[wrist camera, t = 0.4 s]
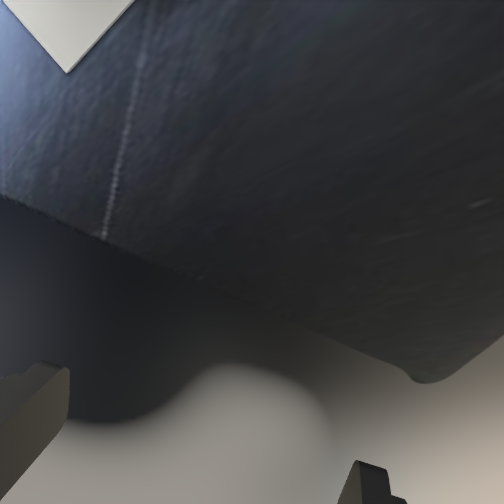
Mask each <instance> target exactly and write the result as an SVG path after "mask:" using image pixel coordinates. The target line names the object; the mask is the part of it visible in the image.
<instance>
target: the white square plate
mask: <svg viewBox="0 0 504 504" xmlns="http://www.w3.org/2000/svg"><path fill="white" fill-rule="evenodd" d="M2 1H3V2H4V3H5V4H6V5H7V6H8V7H9V9H10V10H11V11H12V12H13V13H14V14H15V15H16V17H17V18H18V19H19V20H20V21H21V22H22V23H23V25H24V26H25V27H26V28H27V29H28V30H29V31H30V33H31V34H32V35H33V36H34V37H35V38H36V39H37V41H38V42H39V43H40V44H41V45H42V46H43V47H44V49H45V50H46V51H47V52H48V53H49V54H50V55H51V57H52V58H53V59H54V60H55V61H56V62H57V63H58V65H59V66H60V67H61V68H62V69H63V70H64V71H65V73H68V72H70V71H71V70H72V69H73V68H74V67H75V66H76V65H77V63H78V62H79V61H80V60H81V59H82V58H83V57H84V56H85V55H86V54H87V52H88V51H89V50H90V49H91V48H92V47H93V46H94V45H95V44H96V43H97V41H98V40H99V39H100V38H101V37H102V36H103V35H104V34H105V33H106V32H107V30H108V29H109V28H110V27H111V26H112V25H113V24H114V23H115V22H116V21H117V19H118V18H119V17H120V16H121V15H122V14H123V13H124V12H125V11H126V9H127V8H128V7H129V6H130V5H131V4H132V3H133V2H134V1H135V0H2Z"/></svg>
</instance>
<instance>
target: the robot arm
mask: <svg viewBox="0 0 504 504" xmlns="http://www.w3.org/2000/svg"><path fill="white" fill-rule="evenodd" d="M69 383H70V371H69V369H68V368H66V367H63V366H60V365H57V364H53V363H50V362H47V361H44V360H41V361H38V362H37V363H35V364H34V365H33V366H32V367H30V368H29V369H28V370H27V371H26V372H25V373H23V374H22V375H20V374H17V373H14V374H12V375H9V376H8V377H5V378H3V379H0V500H1V499H2V498H3V497H4V496H5V494H6V493H7V492H8V491H9V490H10V489H11V487H12V486H13V485H14V484H15V483H16V482H17V480H18V479H19V478H20V477H21V476H22V475H23V473H24V472H25V471H26V470H27V469H28V467H29V466H30V465H31V464H32V463H33V462H34V461H35V459H36V458H37V457H38V456H39V455H40V454H41V452H42V451H43V450H44V449H45V448H46V447H47V445H48V444H49V443H50V442H51V441H52V439H53V438H54V437H55V436H56V435H57V434H58V432H59V431H60V430H61V428H62V426H63V424H64V422H65V420H66V417H67V414H68V408H69V407H68V406H69ZM337 504H407V502H406V501H405V499H402V498H399V497H395V496H393V495H391V491H390V484H389V477H388V473H387V470H386V469H383V468H380V467H377V466H374V465H371V464H368V463H364V462H361V461H358V460H356V461H355V462H354V464H353V466H352V468H351V470H350V473H349V476H348V478H347V480H346V483H345V485H344V488H343V490H342V493H341V495H340V497H339V500H338V503H337Z"/></svg>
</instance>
